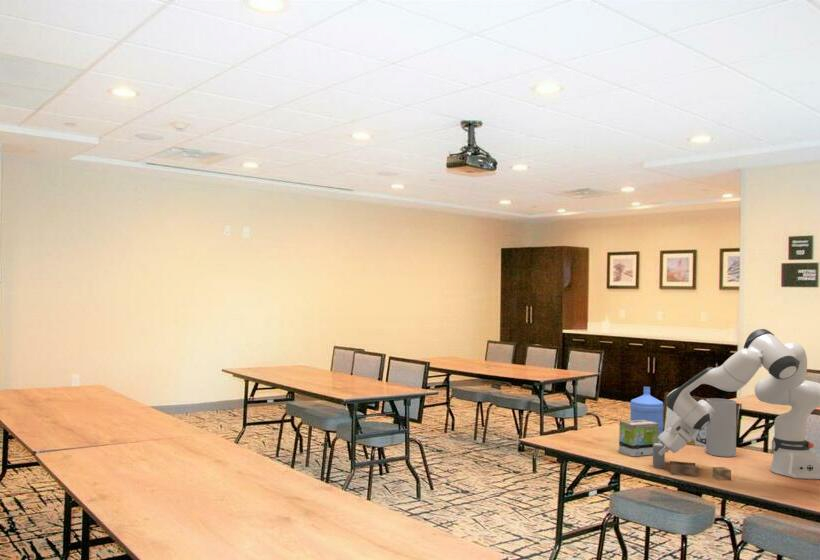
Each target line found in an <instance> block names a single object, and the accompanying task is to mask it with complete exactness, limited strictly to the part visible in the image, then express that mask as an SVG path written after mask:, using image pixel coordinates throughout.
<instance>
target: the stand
mask: <svg viewBox="0 0 820 560" xmlns="http://www.w3.org/2000/svg"><path fill="white" fill-rule="evenodd" d="M669 472H670V474H671V475H673V476H674V475H675V476H683V477H684V476H685V477H686V476H687V477H695V478H696V477H697V478H698V477H699V467H697V465H696V463H695V462H687V461H673V460H672V461H671V460H669Z"/></svg>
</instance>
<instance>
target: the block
mask: <svg viewBox="0 0 820 560" xmlns="http://www.w3.org/2000/svg"><path fill="white" fill-rule="evenodd" d="M712 478H714V479H717V480H718V481H732V470H731V469H730V468H728V467H726V466H712Z"/></svg>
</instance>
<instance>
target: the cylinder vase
mask: <svg viewBox="0 0 820 560" xmlns="http://www.w3.org/2000/svg"><path fill="white" fill-rule="evenodd" d="M705 401H707V402H708V403H709V404H710V405H711V406H712V407H713V409H714V411H715V413H714V414H713V416H712V417H711V418H710V423H709V424H708V425H707V426H706V447H705V448H706V451H705V452H706V453H707V454H708V455H709V456H710V455H711V456H715V457H720V458H721V457H722V458H733V457H735V456H736V455H737V401H736V400H734V399H728V398H727V399H726V398H719V397H718V398H716V397H714V398H713V397H711V398H706V400H705Z"/></svg>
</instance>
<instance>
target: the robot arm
mask: <svg viewBox="0 0 820 560" xmlns="http://www.w3.org/2000/svg"><path fill="white" fill-rule="evenodd" d="M761 367H763V368H764V369H765V370H766V371H768V374H769V375H768V376H767V377H764V378H760V379H759V380H758V381H757V382H756V383H755V386H754V394H755V396H756V398H757V400H759V402H762V403H766V404H770V405H780V406H790V407H791V409H790V410H789V411H787V412H784V413H781V414H779V415H778V416H776V417H775V418H774V421H773V422H774V424H773V425H774V429H773V431H774V436H773V437H772V438H773V440H772V449H773V450H772V451H773V455H772V462H771V465H770V467H769V470H770V472H772V473H775V474H777V475H780V476H781V475H782V476H786V477H790V478H793V479H808V480H809V479H810V480H812V479H813V480H820V456H819V455H817V454H816V453H815V452H814V451H812V450H811V449H813V448H815V444H814V443H813V442H812V441H811V442H809V441H808V440H807V439H806V424H807V420H808V418H809V416H810V415H811V413H813V411H814V410H815V409H817V408H818V407H820V382H816V381H813V380H808V379H807V380H806V378H807V375H808V374H807V371H808V357H807V353H806V350H805V348H804V347H803V346H802V345H801V344H799V343H797V342H793V341H791V342H790V341H789V342H785V343H782V342H781V340H779V339H778V338H777V337H776V336H775V334H774V333H773V332H771V331H770V330H769V329H766V328H759V329H756V330H754V331H752V332H751V333H749V335H748V336H747V337H746V339H745V342H744V345H743V348H740V349H739V350H737V351H736V352H734V354H732V355H730V356H729V357H728V358H727V359H726V360H725V361H724V362H723V363H722V364H721V365H719V366H717V367H713V366H709V367H706V368H705V369H703V370H701V371H700V372H699V373H696V374H695V375H694V376H693V377H692V378H690V379H689V380H688V381H686V382H685V383H683V384H682V385H681V386H678V387H677V388H674V389H673V390H672V391H670V392H669V393H668V394H667V395H666V397H665V403H666V407H667V408H668V409H669V410H671V411H672V412H673V413H675V414H676V415H677V416H678V417H677V418H676V419H675V420H674V422H672V423H671V424H670V426H669V427H667V428H666V429H664V430H663V432H662V433H661V434H660V435H659V436H658V439H659V440H660V442H659V444H663V445H664V448H663V449H661V450H659V451H658V454H659V455H660V456H662V455H663V454H664V453H665V454H666V453H668V452H669V451H671V452H672V453H673V454H675V453H677V452H679V451H680V450H681V449H682V448H684V447H685V446H686V445H688V444H687V442H688V443H690V442H691V441H692V436H693V435H694V434H695V433H696V431H697V430H702V429H703V428H704V427H705V426H707V425H708V424H709V423H710V418H711V417H712V416H713V414H714V413H715V411H714V409H713V407H712V406H711V405H710V404H709V403H708V402H707V401H706V400H705V399H700V400H698V401H697V400H696V399H695V398H694V397H692V395H691V392H692V391H694V390H695V389H696V388H698V387H699V386H701V385H709V386H712V387H714V388H717V389H719V390H721V391H725V392H729V393H730V392H732V393H733V392H738V391H739V390H741V389H742V388H744V386H746V385H747V384H748V383H749V382H750V380H752V379H753V377H754V376H755V375H756V373H757V372H758V371H759V369H760V368H761Z"/></svg>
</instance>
